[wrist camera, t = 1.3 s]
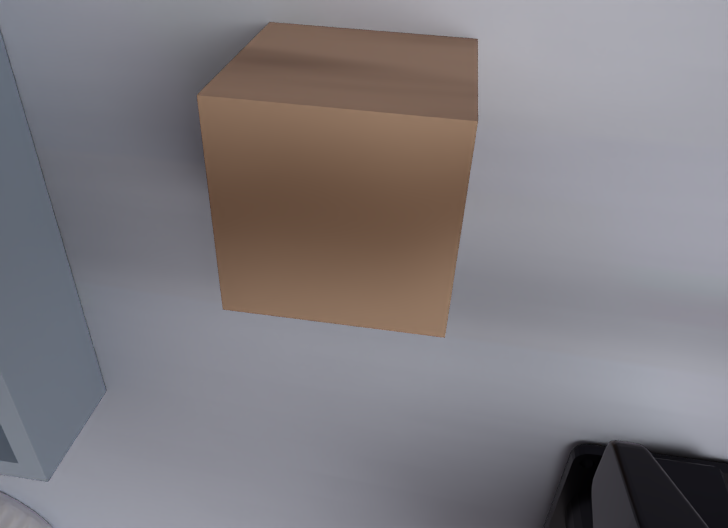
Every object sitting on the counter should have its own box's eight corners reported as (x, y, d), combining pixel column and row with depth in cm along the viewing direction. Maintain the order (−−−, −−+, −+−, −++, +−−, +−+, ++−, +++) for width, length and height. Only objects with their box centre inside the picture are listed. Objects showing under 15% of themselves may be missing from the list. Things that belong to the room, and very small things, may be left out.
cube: (451, 218, 18) (444, 337, 14) (279, 199, 18) (222, 309, 14) (477, 37, 15) (477, 121, 11) (270, 21, 15) (196, 95, 11)
